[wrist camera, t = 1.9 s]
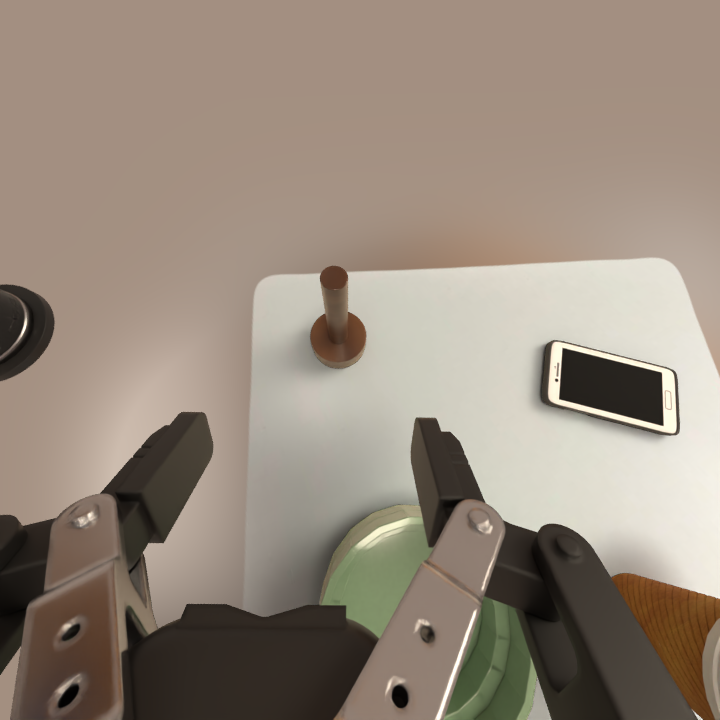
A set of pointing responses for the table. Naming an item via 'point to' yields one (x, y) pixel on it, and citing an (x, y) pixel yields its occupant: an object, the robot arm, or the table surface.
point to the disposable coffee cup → (680, 636)
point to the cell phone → (611, 387)
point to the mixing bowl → (385, 590)
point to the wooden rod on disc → (337, 323)
